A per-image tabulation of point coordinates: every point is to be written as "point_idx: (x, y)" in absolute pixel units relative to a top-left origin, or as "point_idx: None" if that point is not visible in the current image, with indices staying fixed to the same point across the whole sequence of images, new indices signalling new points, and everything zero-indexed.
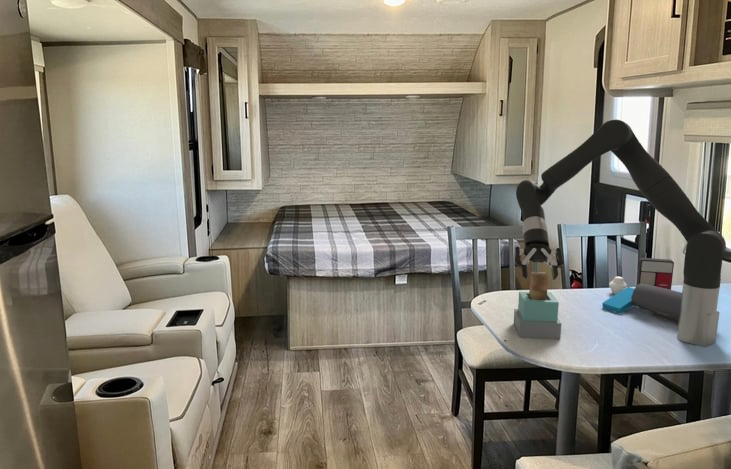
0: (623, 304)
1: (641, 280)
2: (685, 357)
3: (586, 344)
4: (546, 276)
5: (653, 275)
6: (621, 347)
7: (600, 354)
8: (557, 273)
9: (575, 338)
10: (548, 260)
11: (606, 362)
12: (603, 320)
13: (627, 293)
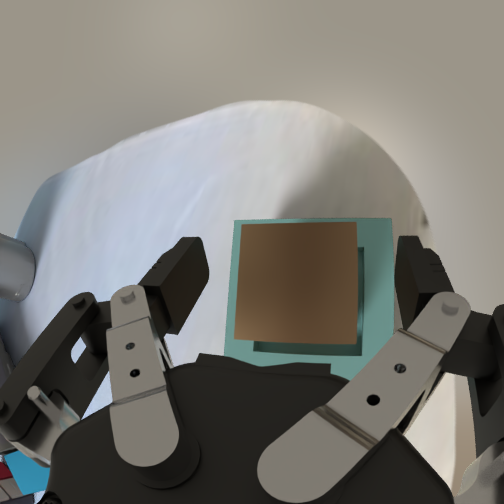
0: None
1: (2, 498)
2: (67, 189)
3: (202, 220)
4: (255, 224)
5: None
6: (134, 214)
7: (195, 165)
8: (162, 258)
9: (215, 260)
10: (160, 343)
11: (202, 129)
12: (105, 398)
13: (29, 475)
